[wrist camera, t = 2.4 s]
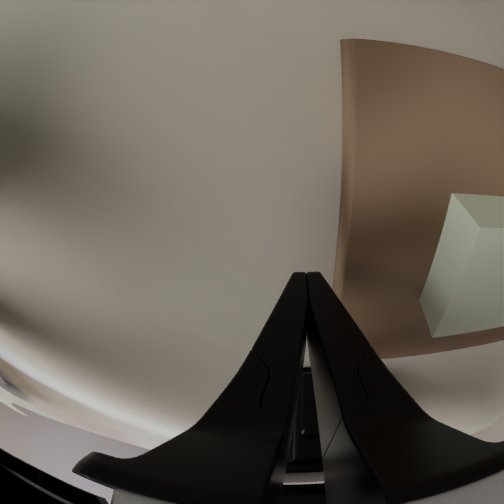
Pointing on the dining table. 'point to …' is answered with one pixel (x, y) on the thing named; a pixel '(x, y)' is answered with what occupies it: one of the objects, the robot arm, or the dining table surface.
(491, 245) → the tile
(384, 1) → the dining table surface
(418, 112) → the walnut board
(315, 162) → the dining table surface
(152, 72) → the dining table surface
